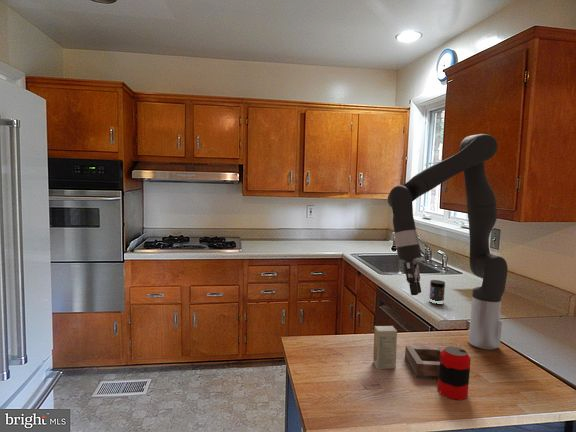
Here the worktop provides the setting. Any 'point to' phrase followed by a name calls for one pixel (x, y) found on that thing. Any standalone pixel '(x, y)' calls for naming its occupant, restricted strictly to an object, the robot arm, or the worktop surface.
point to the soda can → (454, 373)
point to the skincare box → (385, 347)
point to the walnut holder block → (424, 361)
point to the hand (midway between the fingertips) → (416, 294)
